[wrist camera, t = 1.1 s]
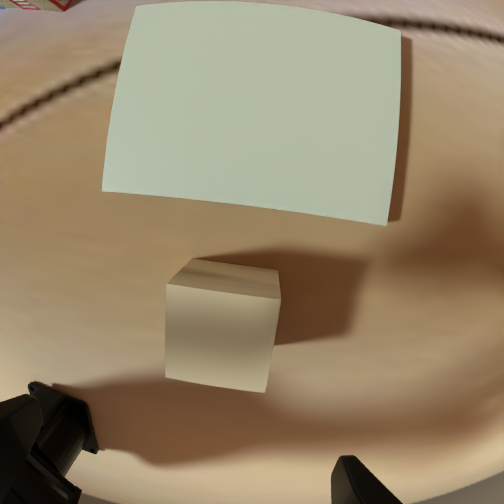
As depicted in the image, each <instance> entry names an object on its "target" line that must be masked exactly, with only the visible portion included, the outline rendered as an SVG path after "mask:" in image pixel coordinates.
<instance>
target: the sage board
mask: <svg viewBox="0 0 504 504" xmlns="http://www.w3.org/2000/svg"><path fill="white" fill-rule="evenodd" d="M400 90H401V31H399V30H396V29H393V28H390V27H387V26H383V25H380V24H376V23H372V22H369V21H365V20H361V19H357V18H352V17H348V16H344V15H339V14H334V13H329V12H324V11H318V10H312V9H306V8H299V7H292V6H284V5H275V4H264V3H251V2H229V1H194V2H172V3H159V4H149V5H140V6H136V9H135V12H134V16H133V19H132V23H131V26H130V30H129V33H128V37H127V41H126V45H125V49H124V53H123V57H122V61H121V66H120V70H119V75H118V80H117V85H116V90H115V95H114V100H113V106H112V112H111V118H110V124H109V131H108V138H107V146H106V154H105V163H104V172H103V183H102V191H108V192H121V193H133V194H145V195H156V196H166V197H176V198H186V199H196V200H205V201H214V202H223V203H231V204H240V205H248V206H256V207H263V208H271V209H279V210H286V211H293V212H300V213H307V214H314V215H321V216H328V217H334V218H341V219H347V220H353V221H360V222H366V223H372V224H378V225H383V226H387V220H388V214H389V208H390V201H391V194H392V186H393V178H394V170H395V161H396V151H397V140H398V127H399V112H400Z"/></svg>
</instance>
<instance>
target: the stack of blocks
mask: <svg viewBox="0 0 504 504" xmlns="http://www.w3.org/2000/svg"><path fill="white" fill-rule="evenodd" d="M71 1H72V0H0V9H5V8H22V9H35V10H47V11H59V12H64V11H65V10H66V8H67V7H68V5H69V4H70V2H71Z"/></svg>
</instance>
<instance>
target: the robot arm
mask: <svg viewBox="0 0 504 504" xmlns="http://www.w3.org/2000/svg"><path fill="white" fill-rule="evenodd" d="M28 389H29V392H30V395H29V394H23V395H20V396H17V397H14V398H12V399H9V400H6V401H3V402H0V504H78V501H79V498H80V495H81V492H82V490H81V489H80V488H78V487H77V486H74V485H73V484H72V483H71V482H70V481H68V480H67V479H66V478H65V475H66V473H67V472H68V470H69V469H70V467H71V466H72V464H73V462H74V461H75V459H76V458H77V456H78V455H79V453H80V452H81V450H85V451H87V452H90V453H93V454H97V452H98V446H97V442H96V438H95V434H94V430H93V426H92V422H91V417H90V413H89V408H88V406H87V404H86V403H84V402H83V401H80V400H77V399H74V398H71V397H69V396H66V395H63V394H61V393H58V392H56V391H53V390H51V389H48V388H46V387H43V386H41V385H38V384H36V383H34V382H30V383H29V384H28ZM331 501H332V504H403V503H402V502H401V501H400V500H399V499H398V498H396V497H395V496H394V495H393V494H392V493H391V492H390V491H389V490H388V489H387V488H386V487H385V486H384V485H383V484H382V483H381V482H380V481H379V480H378V479H377V478H376V477H375V476H374V475H373V474H372V473H371V472H370V471H369V470H368V469H367V468H366V467H365V466H364V464H363V463H362V462H361V461H360V460H359V459H358V458H357V457H356V456H354V455H342V456H340V457H339V458H338V460H337V463H336V465H335V467H334V469H333V472H332V475H331Z"/></svg>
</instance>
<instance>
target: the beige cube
mask: <svg viewBox="0 0 504 504" xmlns="http://www.w3.org/2000/svg"><path fill="white" fill-rule="evenodd" d="M280 305H281V293H280V284H279V275H278V270H275V269H267V268H260V267H252V266H244V265H237V264H229V263H222V262H214V261H207V260H200V259H191V260H190V261H189V262H188V263H187V264H186V265H185V266H184V267H183V268H182V269H181V270H180V271H179V272H178V273H177V274H176V275H175V276H174V277H173V278H172V279H171V280H170V281H169V282H168V283H167V293H166V325H165V377H167V378H172V379H177V380H182V381H187V382H193V383H198V384H204V385H210V386H216V387H223V388H230V389H237V390H245V391H253V392H261V393H265V390H266V385H267V380H268V374H269V369H270V363H271V357H272V352H273V346H274V340H275V335H276V329H277V323H278V317H279V311H280Z"/></svg>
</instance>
